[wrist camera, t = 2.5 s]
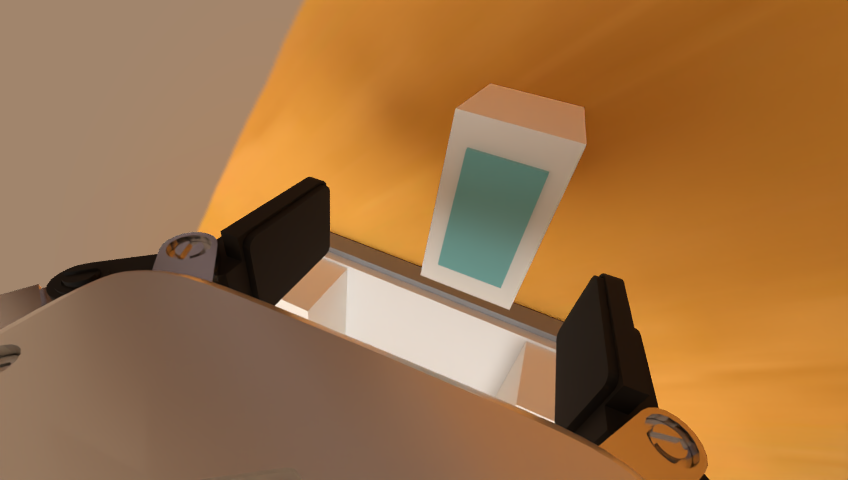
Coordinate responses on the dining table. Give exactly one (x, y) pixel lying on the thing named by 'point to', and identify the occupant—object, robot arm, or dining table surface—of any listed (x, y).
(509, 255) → the block
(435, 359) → the rail board
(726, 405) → the dining table surface
